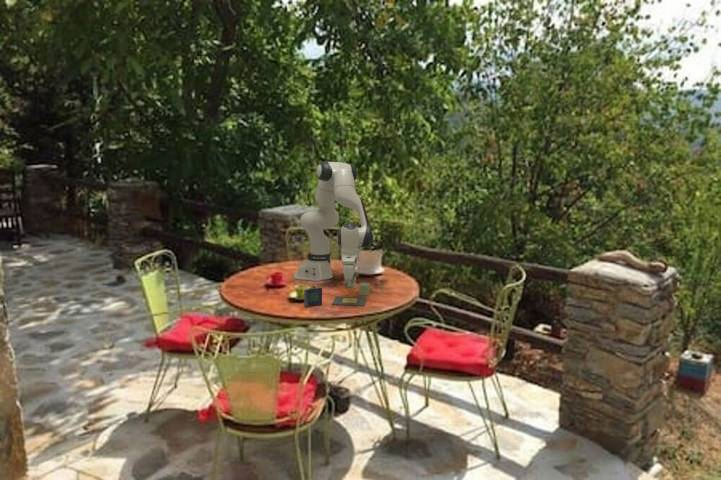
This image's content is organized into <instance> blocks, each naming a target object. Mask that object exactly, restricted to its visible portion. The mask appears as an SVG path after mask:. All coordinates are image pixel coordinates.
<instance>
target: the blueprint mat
mask: <svg viewBox="0 0 721 480" xmlns="http://www.w3.org/2000/svg"><path fill="white" fill-rule="evenodd" d="M367 298H368V297H367V296H366V297H365V296H345V295H344V296H342V295H341V296H339V295H338V296H337V295H336V296H335V297H334V299H333V301H332V303H331V306H341V305H342V306H345V307H347V306H348V307H349V306H350V307H365V306H366V303H367Z"/></svg>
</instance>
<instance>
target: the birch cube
mask: <svg viewBox="0 0 721 480" xmlns="http://www.w3.org/2000/svg"><path fill="white" fill-rule="evenodd" d="M351 282H352V285H351V286H348V283H347V280H345V279H344V289H348V290H349V289H350V290H355V289H356V288H357V276H356V275H353V278H352V280H351Z"/></svg>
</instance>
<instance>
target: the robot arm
mask: <svg viewBox="0 0 721 480" xmlns="http://www.w3.org/2000/svg"><path fill="white" fill-rule="evenodd" d="M316 176H317V179H318V182H317V183H318V184H317V187H316V191H315V196H314V199H315V202H316V203H317V205H318V209H317V210H316V209H315V210H309V211H308V212H305V213H303V214H302V215H301V216H300V218H299V223H300V226H301V228H302V229H303V230H305V232H306V233H307V235H308V237H309V244H310V251H308V252H307V254H306V260H305V261H303V262H302V263H300V265H299V266H298V267H297V272H295V273H294V275H293V279H294V280H301V281H302V280H304V281H315V282H320V281H325V280H330V279H332V278H333V277H334V275H333V271H332V266H331V262H332V255H331V240H330V238H329V237H328V236H326V235H325V232H324V230H325V229H330V228H333V227H335V226H336V225H337V224H338V223H339V221H340V216H339V212H338V210H336V207H335V201H336V202H337V204H339V205H340V206H342V207H344V208H348V209H350V210H353V211H354V212H356V213H357V214H358V218H359V222H360V226H361V227H358V225H357V224H356V223H352V222H349V223H344V224H343V225H342V226H341V228H340V229H338V230H337V232H336V244H337V245H338V246H340V247H341V249H340V259H341V260H340V261H341V265H342V269H343V279H344V281H345V280H347V283H348V286H351V285H352V282H351V280H352V278H353V276H355V272H356V268H357V263H358V262H359V261H360V249H359V248H369V247H371V245H372V244H373V243H374V234H373V233H374V232H373V230H372V228H371V224H370V221H369V216H368V213H367V209H366V206H365V203H364V201H363V198H362V197H360V196H359V195H358V194H357V193H358V192H357V191H356V184H355V181H356V180H357V177H358V169H357V167H356V166H355V165H354V164H353V163H346V162H341V161H327V160H326V161H319V163H318V165H317V167H316Z"/></svg>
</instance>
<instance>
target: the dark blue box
mask: <svg viewBox="0 0 721 480" xmlns="http://www.w3.org/2000/svg"><path fill="white" fill-rule="evenodd" d="M310 285H311V286H310V287H306V288H304V289H303V301H304V302H303V304H304V305H303V306H304V308H311V307H317V306H318V307H319V306H322V305H323V287H321V286H319V285H317V286H316V285H314V283H312V284H310Z"/></svg>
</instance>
